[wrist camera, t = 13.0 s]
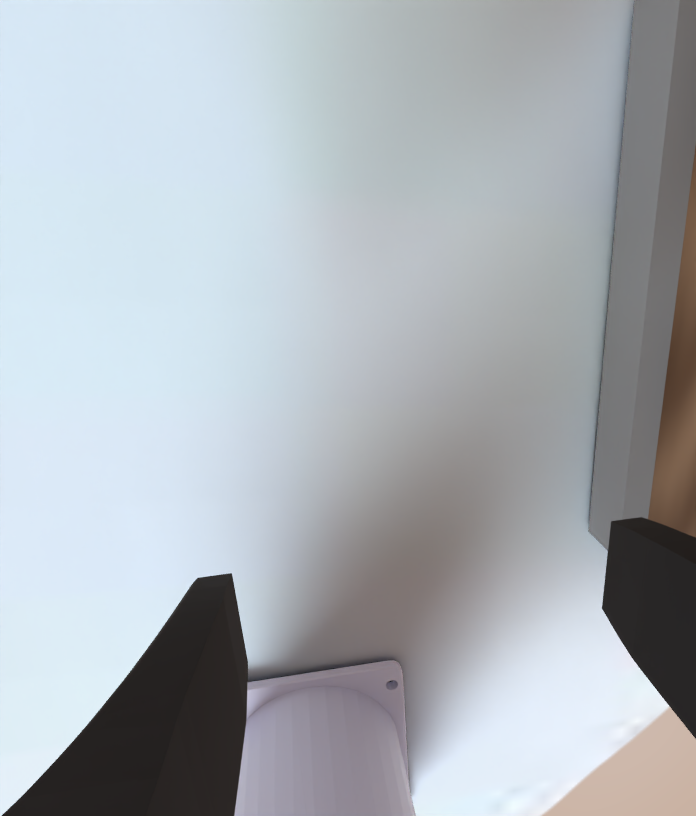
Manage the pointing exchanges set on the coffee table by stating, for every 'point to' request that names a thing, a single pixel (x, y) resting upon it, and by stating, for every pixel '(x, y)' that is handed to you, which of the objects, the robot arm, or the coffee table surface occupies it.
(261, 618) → the coffee table surface
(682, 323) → the brown wooden bar
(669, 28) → the block
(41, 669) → the coffee table surface
